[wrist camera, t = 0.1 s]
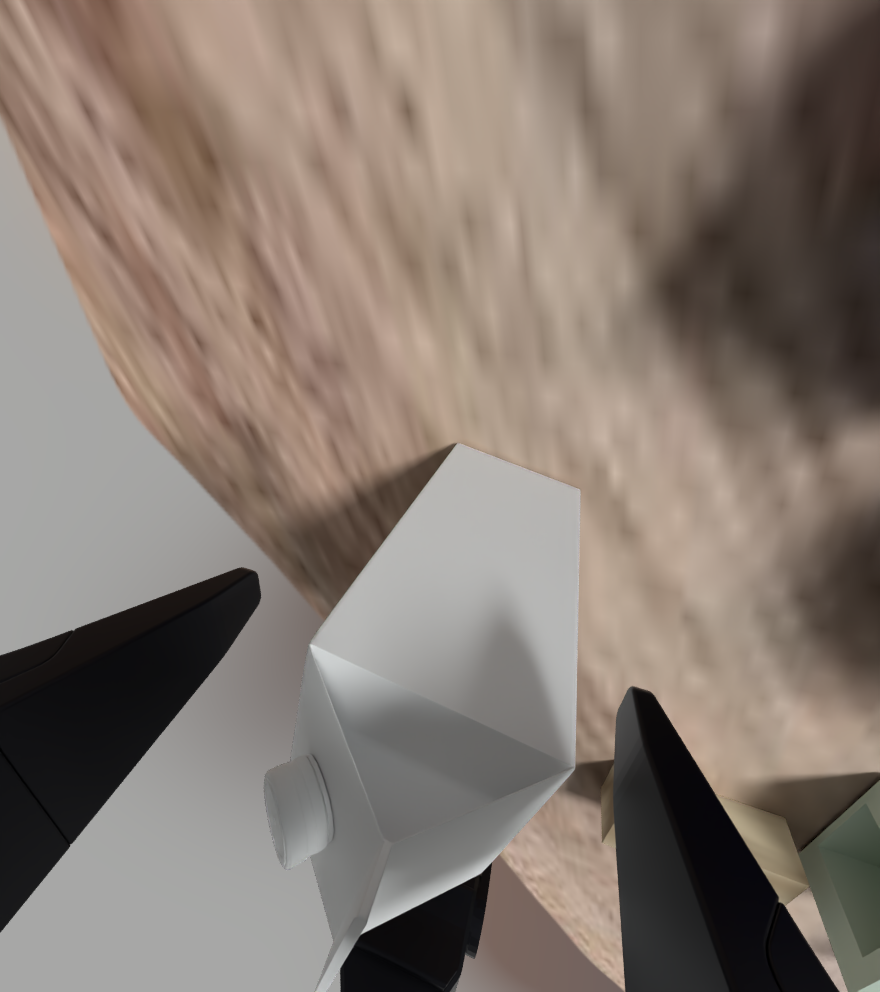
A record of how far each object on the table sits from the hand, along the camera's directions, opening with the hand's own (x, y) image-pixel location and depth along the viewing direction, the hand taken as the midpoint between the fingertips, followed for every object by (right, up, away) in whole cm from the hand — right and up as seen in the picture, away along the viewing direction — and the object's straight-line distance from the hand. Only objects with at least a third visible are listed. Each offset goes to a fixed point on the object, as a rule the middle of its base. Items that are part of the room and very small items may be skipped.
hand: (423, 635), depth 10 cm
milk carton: (+4, +2, +15) cm, 16 cm away
